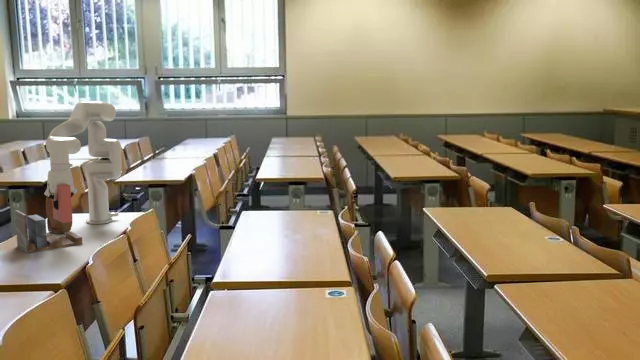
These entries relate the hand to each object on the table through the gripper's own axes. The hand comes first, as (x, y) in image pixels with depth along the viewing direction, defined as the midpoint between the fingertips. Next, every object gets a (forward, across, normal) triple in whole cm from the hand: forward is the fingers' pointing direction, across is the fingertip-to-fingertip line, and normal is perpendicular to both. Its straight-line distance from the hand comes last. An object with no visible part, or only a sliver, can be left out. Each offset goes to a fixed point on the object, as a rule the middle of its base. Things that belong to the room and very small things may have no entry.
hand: (61, 208), depth 264 cm
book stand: (+16, +5, 0) cm, 17 cm away
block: (+16, -5, -21) cm, 27 cm away
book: (+5, 0, 0) cm, 5 cm away
